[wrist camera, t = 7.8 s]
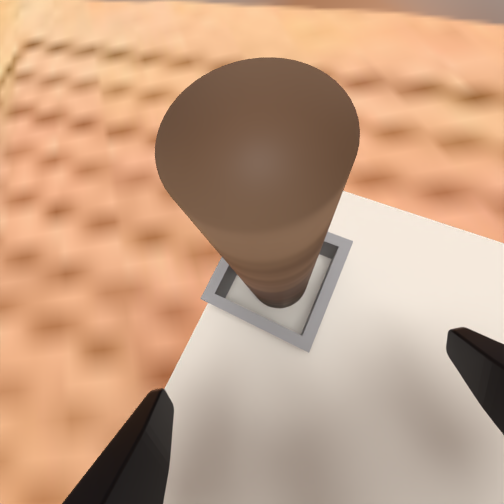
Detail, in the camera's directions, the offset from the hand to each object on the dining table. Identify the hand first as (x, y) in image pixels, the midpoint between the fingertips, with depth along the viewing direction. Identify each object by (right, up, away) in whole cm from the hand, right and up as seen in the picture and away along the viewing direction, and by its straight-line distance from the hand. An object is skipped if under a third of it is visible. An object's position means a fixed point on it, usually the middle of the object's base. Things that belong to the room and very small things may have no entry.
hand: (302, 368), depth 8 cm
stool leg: (0, +2, +9) cm, 9 cm away
